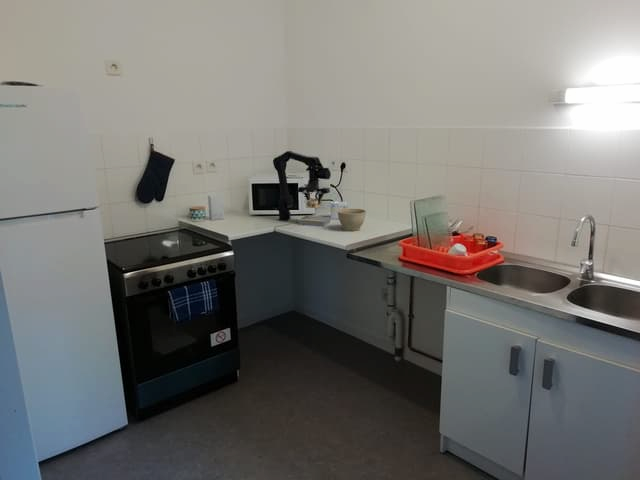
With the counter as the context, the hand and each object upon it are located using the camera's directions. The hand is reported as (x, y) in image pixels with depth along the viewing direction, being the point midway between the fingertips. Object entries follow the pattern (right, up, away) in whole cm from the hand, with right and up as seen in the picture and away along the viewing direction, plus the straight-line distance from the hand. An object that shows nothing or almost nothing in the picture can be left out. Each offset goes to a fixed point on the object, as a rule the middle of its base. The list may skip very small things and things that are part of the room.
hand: (313, 204), depth 300 cm
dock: (0, -12, +3) cm, 12 cm away
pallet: (0, -1, 0) cm, 2 cm away
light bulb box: (+16, -8, +18) cm, 25 cm away
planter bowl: (+22, -16, -13) cm, 30 cm away
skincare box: (-63, -9, +17) cm, 65 cm away
